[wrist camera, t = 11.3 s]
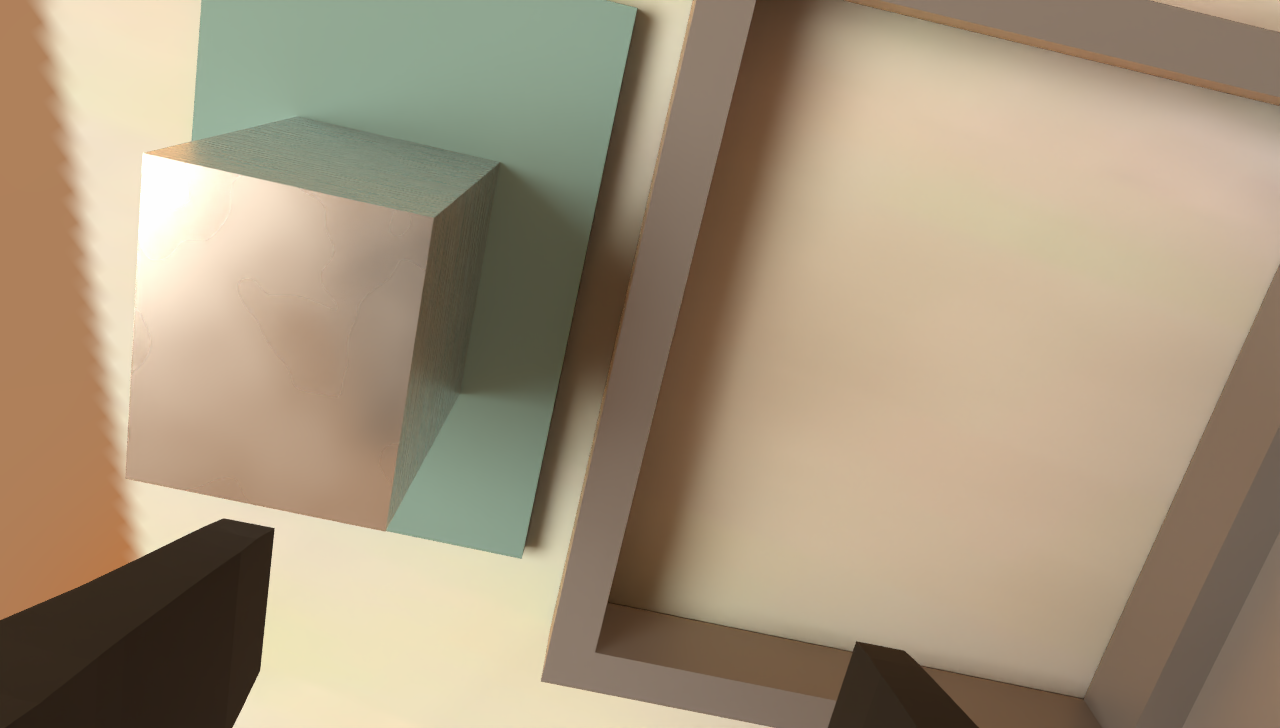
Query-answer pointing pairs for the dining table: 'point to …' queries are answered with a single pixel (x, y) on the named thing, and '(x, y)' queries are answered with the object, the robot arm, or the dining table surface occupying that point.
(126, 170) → the dining table surface
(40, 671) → the robot arm
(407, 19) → the module mat
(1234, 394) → the equipment case
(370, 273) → the block
